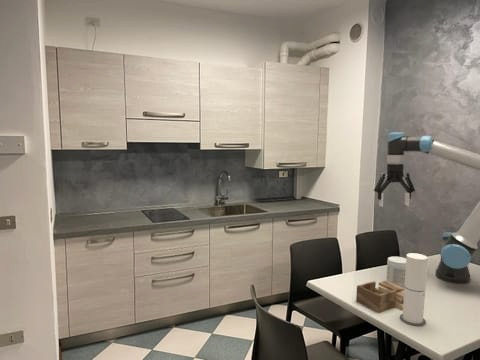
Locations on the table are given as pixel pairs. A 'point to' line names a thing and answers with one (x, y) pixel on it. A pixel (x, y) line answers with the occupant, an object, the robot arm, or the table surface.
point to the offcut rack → (380, 296)
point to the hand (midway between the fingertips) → (393, 205)
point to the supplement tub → (396, 270)
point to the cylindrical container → (414, 287)
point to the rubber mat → (413, 323)
